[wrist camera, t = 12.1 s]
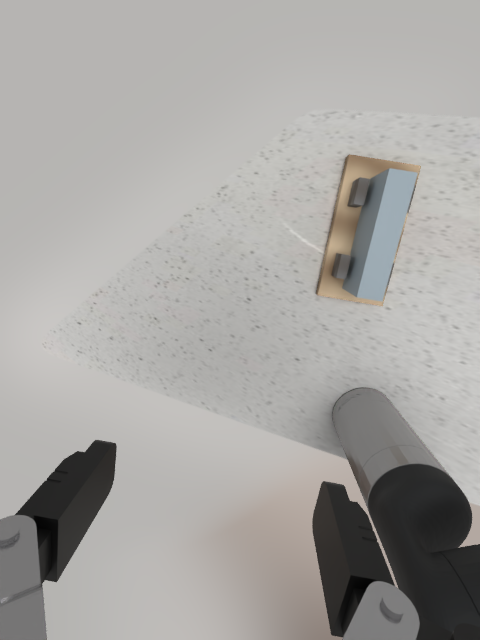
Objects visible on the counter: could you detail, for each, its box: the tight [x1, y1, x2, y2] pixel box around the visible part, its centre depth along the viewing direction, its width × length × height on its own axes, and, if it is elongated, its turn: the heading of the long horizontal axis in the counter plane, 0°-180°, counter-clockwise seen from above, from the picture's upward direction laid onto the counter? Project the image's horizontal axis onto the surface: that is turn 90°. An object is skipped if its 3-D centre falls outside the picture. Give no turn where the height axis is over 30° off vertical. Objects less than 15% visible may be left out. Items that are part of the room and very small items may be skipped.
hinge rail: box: [316, 155, 421, 306], centre depth 42 cm, size 18×9×4 cm, turn 171°
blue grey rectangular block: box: [342, 168, 418, 301], centre depth 39 cm, size 14×3×7 cm, turn 171°
